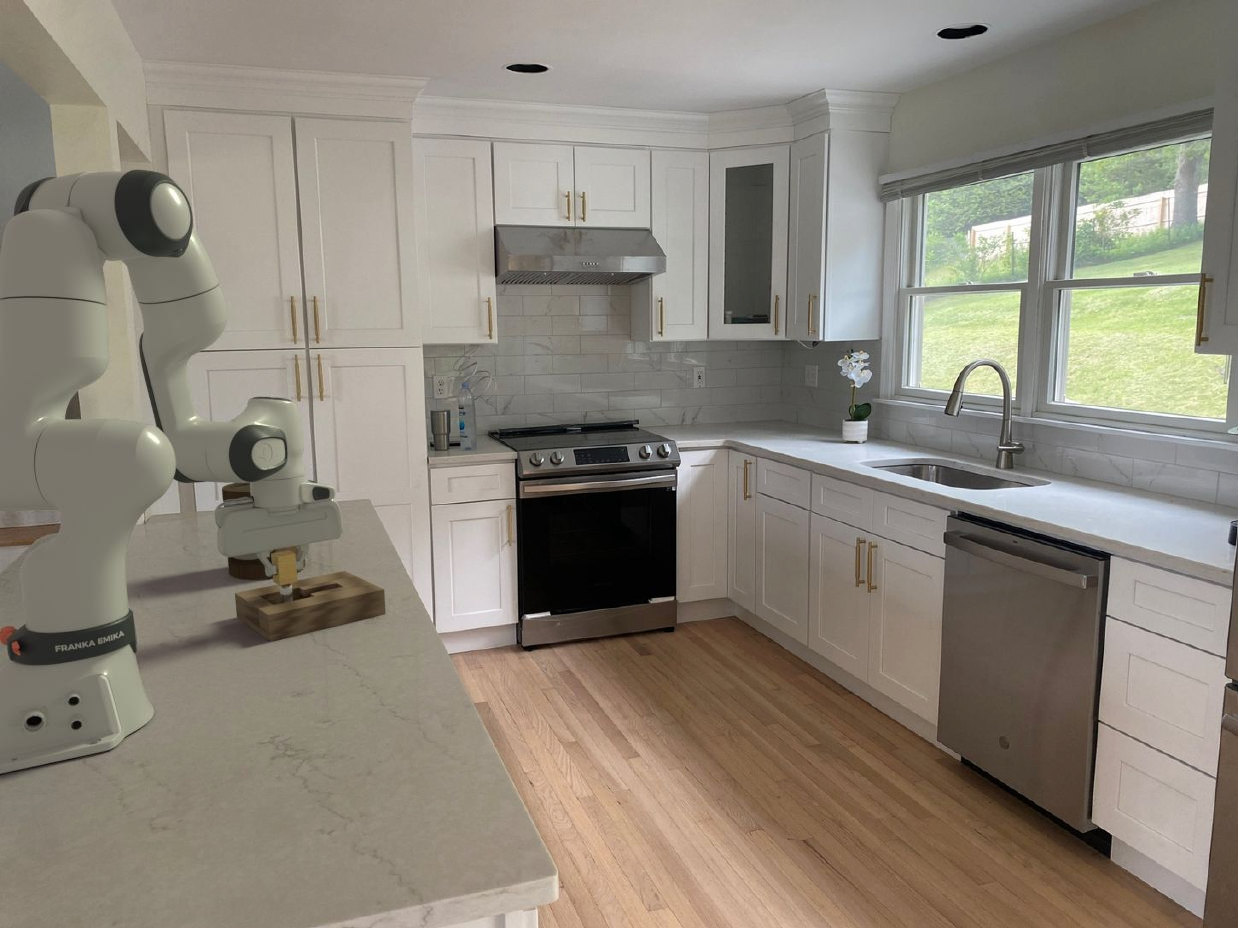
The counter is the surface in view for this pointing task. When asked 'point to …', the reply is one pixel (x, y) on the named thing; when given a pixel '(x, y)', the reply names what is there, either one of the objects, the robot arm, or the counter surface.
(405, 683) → the counter surface
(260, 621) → the keyhole plate
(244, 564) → the wooden container
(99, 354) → the robot arm
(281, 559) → the keyhole peg
